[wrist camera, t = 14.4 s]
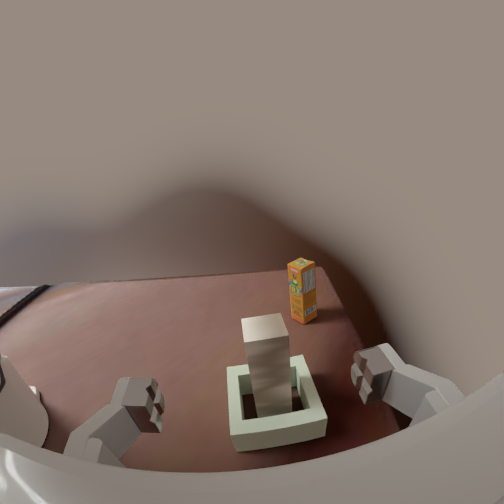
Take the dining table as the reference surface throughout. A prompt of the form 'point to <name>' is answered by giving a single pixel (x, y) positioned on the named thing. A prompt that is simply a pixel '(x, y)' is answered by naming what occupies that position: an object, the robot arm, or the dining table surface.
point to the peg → (268, 363)
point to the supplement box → (302, 290)
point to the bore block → (279, 426)
